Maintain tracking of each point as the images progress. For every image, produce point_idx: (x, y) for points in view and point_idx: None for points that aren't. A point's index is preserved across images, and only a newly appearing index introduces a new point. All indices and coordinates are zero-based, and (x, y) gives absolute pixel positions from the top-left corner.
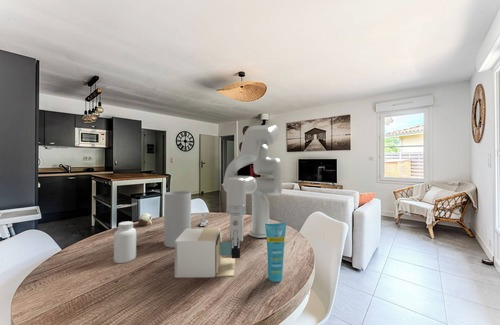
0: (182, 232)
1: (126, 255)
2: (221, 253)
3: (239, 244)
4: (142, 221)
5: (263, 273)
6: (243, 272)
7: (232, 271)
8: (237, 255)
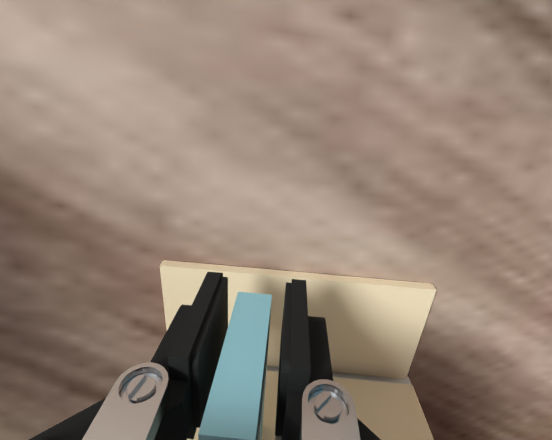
0: None
1: None
2: (261, 436)
3: (177, 366)
4: None
5: (460, 21)
6: (391, 212)
7: (382, 293)
8: (324, 325)
